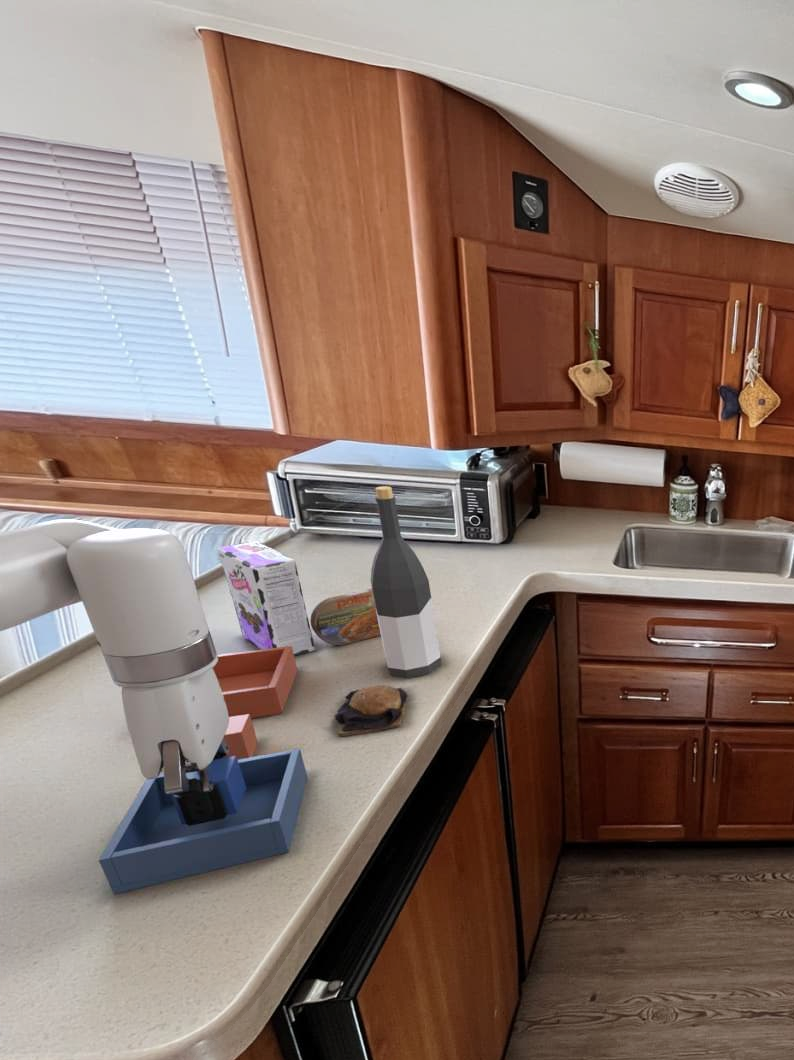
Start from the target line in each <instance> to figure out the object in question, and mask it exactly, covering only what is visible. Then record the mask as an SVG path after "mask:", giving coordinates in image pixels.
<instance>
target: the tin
mask: <svg viewBox="0 0 794 1060" xmlns="http://www.w3.org/2000/svg"><path fill="white" fill-rule="evenodd" d="M310 628H311V630H312V631H313V632H314V633H315V635H316V636H317V637H318V638H319V639H320V640H321V641H323V642H325V643H327V644H330V645H333V646H347V645H350V644H354V643H357V642H361V641H365V640H367V639H371V638H376V637H378V636H381V633H380V628H379V622H378V617H377V612H376V607H375V602H374V597H373V592H372V587H371V588H367V589H362V590H358V591H354V592H350V593H349V592H348V593H345V594H340V595H337V596H336V595H335V596H332V597H328V598H325V599H324V600H322V601H320V602H319V603H318V604H317V605H316V606H315V607H314V608H313V610H312V611H311V614H310Z"/></svg>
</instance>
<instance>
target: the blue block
mask: <svg viewBox="0 0 794 1060" xmlns="http://www.w3.org/2000/svg"><path fill="white" fill-rule="evenodd" d="M209 768H210V773H211V777H212V782H213V786H214V785H218V786H219V789H220V792H221V795H222V798H223V801H224V804H225V807H226V810H227V815H231V814H235V813H237V812H238V809H239V806H240V804H241V801H242V798H243V796H244V793H245V790H246V785H245V782H244V779H243V776H242V772H241V769H240V766H239V763H238V760H237V757H236V756H232V757H226V758H221V759H215V760H212V762H211V763H210V764H209ZM186 777H187V778H188V779H193V778H196V779H199V780H200V776H199V771H195V772H190V773H186ZM171 797H172V799H173V802H174V805H175V807H176V810H177V813H178V815H179V818H180V821H181V823H182V825H184V824H186V822H185V819H184V817H183V814H182V811H181V809H180V806H179V803H178V801H177V799H176V798H175V797H174V794H171Z"/></svg>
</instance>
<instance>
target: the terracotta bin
mask: <svg viewBox="0 0 794 1060" xmlns="http://www.w3.org/2000/svg"><path fill="white" fill-rule="evenodd" d="M217 656H218V662H217V664H216V665H215V666H214V667H213V670H214V672H215V675H216V677H217V680H218V682H219V685H220V688H221V691H222V694H223V696H224V700H225V703H226V707H227V711H228V715H229V717H233V716H239V715H246V714H250V717H251V719H254V718H261V717H266V716H267V717H268V716H273V715H278V714H283V712H284V709H285V707H286V704H287V701H288V698H289V696H290V692H291V690H292V687H293V684H294V682H295V678H296V675H297V673H298V671H299V670H298V669H299V668H298V665H297V661H296V656H294V653H293V649H292V646H286V647H279V648H270V649H262V650H261V649H256V650H247V651H239V652H229V653H220V654H217Z"/></svg>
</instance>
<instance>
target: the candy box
mask: <svg viewBox="0 0 794 1060" xmlns="http://www.w3.org/2000/svg"><path fill="white" fill-rule="evenodd" d="M217 552H218V555H219V558H220V563H221V565H222V569H223V572H224V575H225V579H226V582H227V586H228V589H229V592H230V596H231V598H232V603H233V606H234V610H235V614H236V617H237V620H238V624H239V627H240V631H241V634H242V637H243V638H244V639H245V640H247V641H249V642H250V643H251V644H253V645H254V646H255V647H257V648H258V649H259V650H262V649H270V648H279V647H286V646H292V649H293V653H294V657H296V656H299V655H304V654H308V653H311V652H314V651H315V650H316V647H315V642H314V638H313V634H312V628H311V624H310V621H309V616H308V612H307V607H306V603H305V598H304V594H303V590H302V585H301V581H300V577H299V576H300V575H299V571H298V567H297V564H296V560H295V559H294V558H292V557H288V556H287V555H285V554H283V553H281V552H279V551H278V550H276V549H274V548H272V547H271V546H269V545H266V544H264V543H262V542H261V541H259V540H253V541H247V542H241V543H237V544H231V545H230V544H229V545H225V546H219V547H217Z"/></svg>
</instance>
